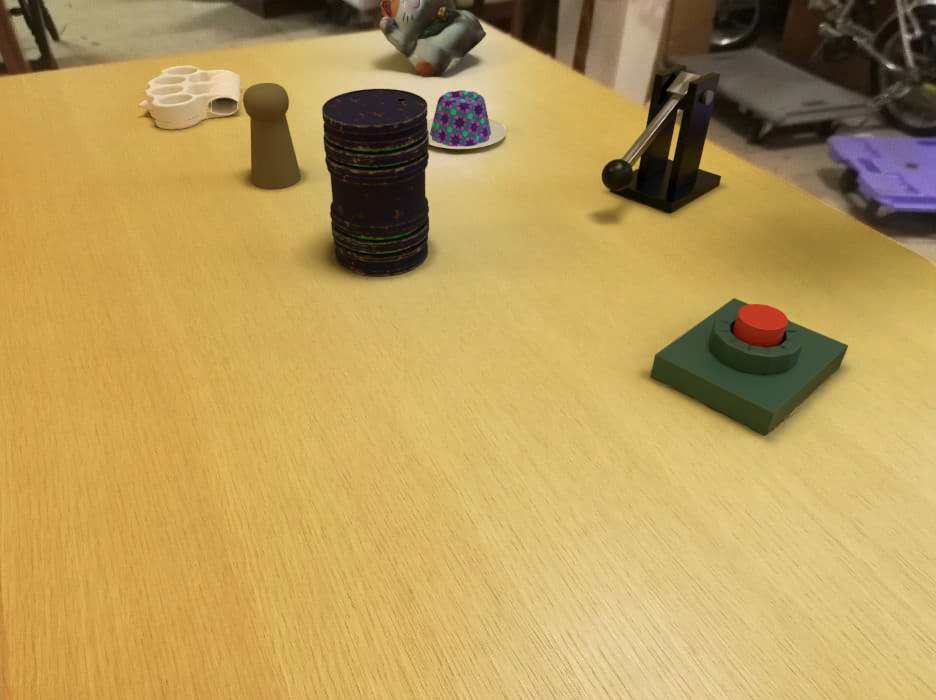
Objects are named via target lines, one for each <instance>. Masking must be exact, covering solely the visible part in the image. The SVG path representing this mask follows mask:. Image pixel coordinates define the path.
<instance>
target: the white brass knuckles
mask: <svg viewBox="0 0 936 700" xmlns="http://www.w3.org/2000/svg"><path fill="white" fill-rule="evenodd" d="M146 84H147V88H146V89H144V90H142V92H141V93H142V94H144V95H145V99H144V100H142V101H141V102H140V103H139V104H137V107H139V108H141V109H145V110H148V109H150V110H153V112H152V111H150V110H148V111H149V114H150V116H151V117H152V118H153V119H154V121H155V125H156V127H158V128H160V129H163V130H182V129H188V128H191V127H194V126H195V125H197V124H198V123H200V122H201V121H204V120H207V119H218V118H223V117H227V116H231V115H233V114H235V113H236V112H238V110H240V109H241V95H242V93H241V85H242V80H241V75H240V74H238V73H236V72H234V71H232V70H227V69H225V70H224V69H210V70H207V69H201V68H200V67H198V66H194V65H175V66H170V67H167V68H164V69H162V70H161V71H160V74H159V75H158V76H156V77H153V78H152V79H151V80H149V81H148V82H147V83H146ZM211 101H212V111H211V112H205V111H210V109H211V108H210V107H211ZM237 103H238V110H237ZM239 108H240V109H239ZM203 112H205V113H203ZM199 113H202V114H199ZM198 114H199V115H198ZM197 115H198V116H197ZM196 116H197V117H196ZM194 117H195V118H194ZM192 118H193V119H192ZM155 119H157V120H159V121H163V122H159V121H157V120H155ZM188 119H191V120H188ZM185 120H188V121H185ZM179 121H184V122H179ZM164 122H177V123H164Z"/></svg>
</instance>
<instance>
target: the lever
mask: <svg viewBox="0 0 936 700" xmlns="http://www.w3.org/2000/svg"><path fill="white" fill-rule="evenodd" d="M700 77H701V75H700V74H696V73H691V72H687V71H686V72H684V71H681V73H680V74H679V75H678V76H677V78H676V79H675V80H674V81H673V83H672V84H671V85H670V86H669V88H668V89H667V96H668V102H667V103H666V104H665V105H664V107H663V108H662V109H661V110H660V112H659V113H658V114H657V115H656V117H655V118H654V119H653V120H652V122H651V123H650V124H649V125H648V127H647V128H646V127H645V129H644V130H643V132H642V133H641V134H640V135H639V136H638V138H637V139H636V140H635V141H634V143H633V144H632V145H631V147H629V149H628V150H627V152H626V153H625V154H624V155H623V157H621V158H616V159H612V160H609V161H608V162H607V163H606V164H605V165H604V166H603V168H602V171H601V181H602V184H603V185H604V186H605V188H607V190H609V191H610V190H613V191H619V190H622V189H624V188H626V187H627V186H628V185H629V184H630V183H631V181H632V178H633V171H634V170H633V167H634V166H635V164H636V163H637V162H638V160H640V158H641V155H642V154H643V153H644V152H645V150H646V149H647V148H648V147H649V145H650V144H651V143H652V142H653V140H654V139H655V138H656V137H657V135H658V134H659V133H660V132H661V130H662V129H663V128H664V127H665V125H666V124H667V123H668V122H669V120H670V119H671V118H672V117H673V115H674V114H675V113H676V112H677V110H678V111H679V110H680V111H683V110H684V105H685V100H686V95H687V91H688V86H689V82H691V81H693V80H696V79H698V78H700ZM677 113H678V112H677Z"/></svg>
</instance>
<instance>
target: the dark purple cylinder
mask: <svg viewBox="0 0 936 700" xmlns="http://www.w3.org/2000/svg"><path fill="white" fill-rule="evenodd" d="M321 116H322V120H323V125H322V126H323V137H322V139H323V148H324V152H325V157H324V158H325V159H324V162H325V164H326V170H327V171H328V173H329V175H330V187H331V198H332V201H331V203H330V206H329V207H330V212H329V216H330V217H329V218H330V219H331V220H330V225H331V226H330V227H331V235H332V238H333V243H334V246H335V247H334V256H335V260H336V262H337V264H338V265H339V266H341V267H342V268H343V269H345V270H347V271H349V272H351V273H353V274H357V275H361V276H367V277H391V276H396V275H401V274H404V273H405V274H406V273H408V272H409V271H410V272H411V271H412V270H414V269H416V268H418V267H419V266H421V265H422V264H423V263H424V262H425V261H426V259H427V258H428V255H429V244H428V240H429V232H430V216H429V212H430V207H429V200H428V198H427V196H426V169H427V167H428V164H429V159H430V153H429V146H430V144H429V132H428V130H427V121H428V118H427V117H428V102H427V100H426V99H425V98H424V97H423V96H421V95H419V94H417V93H415V92H410V91H407V90H403V89H402V90H401V89H395V88H366V89H365V88H363V89H357V90H351V91H348V92H343V93H341V94H338V95H335V96H333V97H331V98H329V99H328V100H326V101H325V102H324V103H323V104H322V108H321Z"/></svg>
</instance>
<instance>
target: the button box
mask: <svg viewBox="0 0 936 700" xmlns="http://www.w3.org/2000/svg"><path fill="white" fill-rule="evenodd" d="M749 304H750V303H747V302H745V301H742V300H740V299H737V298H735V297H733V298H731V300H729V301H728V302H726V303H725V304H723V305H722V306H720V307H719V308H718V309H716V310H715V311H714V312H713V313H711V314H710V315H708V316H707V317H705V318H704V319H703V320H701V321H700V322H698V323H697V324H696V325H694V326H693V327H692V328H690V329H689V330H687V331H686V332H685V333H683V334H682V335H680V336H679V337H678V338H677V339H675V340H674V341H672V342H670V343H669V344H668V345H666V346H665V347H664V348H662V349H661V350H660V351H658V352H657V353H655V355H654V358H653V363H652V367H651V370H650V371H651V372H650V377H651V378H654V379H656V381H658V382H661V383H663V384H665V385H667V386H669V387H671V388H673V389H675V390H677V391H679V392H681V393H682V394H684V395H686V396H687V397H688V396H689V397H690V398H692V399H694V400H696V401H699V402H700V403H702V404H704V405H706V406H708V407H710V408H711V409H714V410H716V411H717V412H720V413H722V414H724V415H725V416H727V417H729V418H731V419H733V420H735V421H737V422H739V423H741V424H742V425H745V426H747V427H749V428H751V429H753V430H754V431H757V432H758V433H760V434H763V435H765V436H767V435H768V434H769V433H770V432H771V431H772V430H773V429H774V428H775V427H777V425H778V424H780V423H781V422H782V421H783V419H785V418H786V417H788V415H789V414H791V413H792V411H794V410H795V409H796V408H797V407H798V406H800V404H802V402H803V401H804V400H806V399H807V398H808V397H809V396H810V395H812V393H814V391H815V390H817V389H818V388H819V387H820V386H821V385H822V384H823V383H824V382H825V381H826V380H827V379H829V378H830V377H831V376H832V375H833V374H834V373H835V372H836V371H837V370H839V369H840V367H841V365H842V363H843V360H844V358H845V355H846V353H847V351H848V348H849V345H848V344H847V343H844V342H841V341H839V340H837V339H834V338H831V337H829V336H827V335H824V334H822V333H820V332H817V331H816V330H815V331H814V330H812V329H810V328H807V327H805V326H803V325H800V324H798V323H795V322H793V321H791V320H790V319H788V323H787V326H786V329H785V332H784V335H783V338H782V340H781V342H780V343H779V344H778V345H776V346H773V347H767V348H765V347H759V346H752V345H750V344H747V343H745V342H743V341H741V340H738V339H737V338H736V337H735V335H734V333H733V328H734V325H735V321H736V318H737V315H738V312H739V310H740V309H741V308H742V307H743V306H745V305H749Z"/></svg>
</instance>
